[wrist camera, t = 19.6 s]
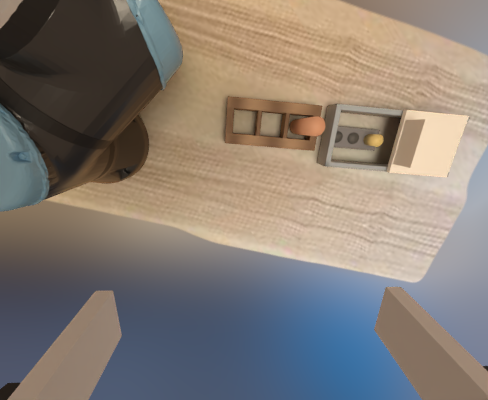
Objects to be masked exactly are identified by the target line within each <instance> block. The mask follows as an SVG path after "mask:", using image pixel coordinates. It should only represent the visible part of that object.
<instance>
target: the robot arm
mask: <svg viewBox="0 0 488 400" xmlns="http://www.w3.org/2000/svg"><path fill="white" fill-rule="evenodd" d="M182 57H183V52H182V46H181V43H180V40H179V38H178V36H177V34H176V32H175V30H174V28H173V26H172V24H171V22H170V20H169V19H168V17H167V15H166V13H165V12H164V10H163V8H162V7H161V5H160V3H159V2H158V0H0V211H9V210H13V209H17V208H21V207H25V206H30V205H35V204H38V203H40V202H41V201H42V200H45V199H47V198H50V197H52V196H55V195H58V194H60V193H63V192H65V191H68V190H70V189H73V188H75V187H78V186H81V185H83V184H86V183H88V182H96V183H115V182H119V181H122V180H124V179H127V178H129V177H131V176H132V175H134V174H135V173H137V172H138V171H139V170H140V169H141V167H142V166H143V164H144V162H145V160H146V158H147V155H148V149H149V141H148V135H147V131H146V128H145V126H144V123H143V122H142V120H141V118H140V117H139V115H138V114H139V113H140V112H141V111H142V109H143V108H144V107H145V106H146V105H147V104H148V103H149V102H150V101H151V100H152V98H153V97H154V96H155V95H156V94H157V93H158V92H159V91H160V90H164V89H165V87H166V83H167V82H168V81H169V79H170V78H171V77H172V76H173V75H174V73H175V72H176V71H177V70H178V68H179V67H180V65H181V63H182ZM374 330H375V332H376V333H377V334H378V336H379V337H380V339H381V340H382V342H383V343H384V345H385V346H386V348H387V349H388V350H389V352H390V353H391V355H392V356H393V358H394V359H395V361H396V362H397V364H398V365H399V366H400V368H401V369H402V371H403V372H404V374H405V375H406V377H407V378H408V380H409V381H410V382H411V384H412V385H413V387H414V388H415V390H416V391H417V392H418V394H419V396H420V397H421V398H422V400H488V366H482V365H480V364H479V363H478V362H477V361H476V360H475V359H474V358H473V357H472V356H471V355H470V354H469V353H468V352H467V351H466V350H465V349H464V348H463V347H462V346H461V345H460V344H459V343H458V342H457V341H456V340H455V339H454V338H453V337H452V336H450V334H449V333H448V332H446V330H445V329H443V328H442V327H441V326H440V325H439V324H438V323H437V322H436V321H435V320H434V319H433V318H432V317H431V316H430V315H429V314H428V313H427V312H426V311H425V310H424V309H423V308H422V307H421V306H420V305H419V304H418V303H417V302H416V301H415V300H414V299H413V298H412V297H411V296H410V295H409V294H408V293H406V292H405V291H404V290H403V289H402V288H401V287H386V289H385V292H384V296H383V300H382V303H381V307H380V311H379V314H378V318H377V321H376V325H375V329H374ZM120 338H121V330H120V324H119V319H118V314H117V310H116V304H115V299H114V294H113V291H95V293H94V294H93V295H92V296H91V297H90V299H89V300H88V301H87V302H86V304H85V305H84V306H83V307H82V309H81V310H80V311H79V312H78V313H77V315H76V316H75V317H74V319H73V320H72V321H71V322H70V323H69V325H68V326H67V327H66V328H65V329H64V331H63V332H62V333H61V334H60V336H59V337H58V338H57V339H56V340H55V342H54V343H53V344H52V345H51V347H50V348H49V349H48V350H47V352H46V353H45V354H44V355H43V356H42V358H41V359H40V360H39V361H38V363H37V364H36V365H35V366H34V368H33V369H32V370H31V371H30V372H29V374H28V375H27V376H26V377H25V379H24V380H23V381H22V382H21V383H7V384H6V385H5V386H4V387H3V388H1V389H0V400H88V399H89V397H90V395H91V394H92V392H93V390H94V388H95V386H96V384H97V382H98V380H99V378H100V376H101V374H102V372H103V371H104V369H105V367H106V365H107V363H108V361H109V359H110V357H111V355H112V353H113V351H114V349H115V347H116V346H117V344H118V342H119V340H120Z"/></svg>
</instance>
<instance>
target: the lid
mask: <svg viewBox="0 0 488 400" xmlns="http://www.w3.org/2000/svg"><path fill="white" fill-rule="evenodd" d="M468 118H469V116H463V115H453V114H443V113H433V112H423V111H414V110H403V114H402V117H401V121H400V125H399V128H398V132H397V135H396V139H395V142H394V146H393V149H392V153H391V156H390V160H389V163H388V167H387V171H386V172H389V173H400V174H413V175H425V176H437V177H447V175H448V172H449V169H450V166H451V164H452V161H453V158H454V156H455V153H456V150H457V147H458V145H459V142H460V139H461V137H462V134H463V131H464V128H465V126H466V123H467V120H468Z"/></svg>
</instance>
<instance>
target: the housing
mask: <svg viewBox="0 0 488 400" xmlns="http://www.w3.org/2000/svg"><path fill="white" fill-rule="evenodd" d="M341 112H343V113H353V114H364V115H374V116H384V117H394V118H401V117H402V114H403V110H394V109H384V108H374V107H364V106H354V105H344V104H334V105H330V106H328V107H327V112H326V117H325V130H324V131H323V134H322V139H321V144H320V150H319V155H318V160H317V163H319V164H321V165H323V166H327V167H339V168H351V169H363V170H375V171H387V167H388V165H387V164H376V163H364V162H352V161H340V160H331V157H332V152H333V147H339V148H351V149H362V150H373V151H374V150H375V147H378V146H380V145H381V144H382V143H383V136H382V135H379V131H380V130H373V129H362V128H352V127H341V126H338V123H339V118H340V113H341ZM469 118H470V117H469ZM469 118H468V120H467V122H468V121H469ZM448 175H449V172H448ZM448 175H447V177H448Z"/></svg>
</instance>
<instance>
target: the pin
mask: <svg viewBox="0 0 488 400" xmlns="http://www.w3.org/2000/svg"><path fill="white" fill-rule="evenodd" d="M324 130H325V121H324V119H323V118H321V117H319V116H315V117H308V118H301V119H295V120H293V121H292V122H291V123H290V131H291V132H292V133H293V134H298V135H308V136H319V135H320V134H322V133H323V131H324Z"/></svg>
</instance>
